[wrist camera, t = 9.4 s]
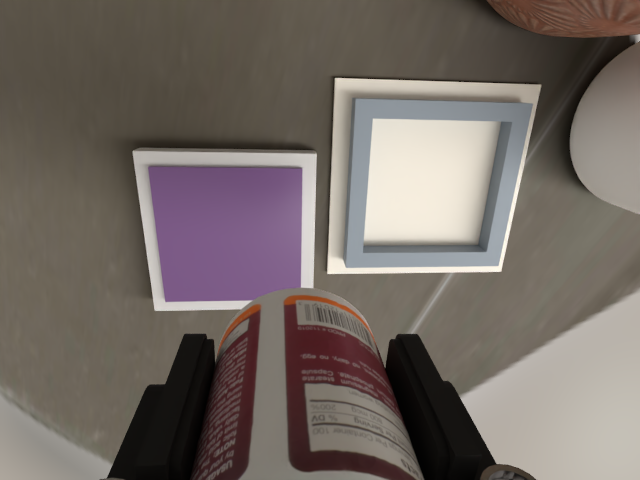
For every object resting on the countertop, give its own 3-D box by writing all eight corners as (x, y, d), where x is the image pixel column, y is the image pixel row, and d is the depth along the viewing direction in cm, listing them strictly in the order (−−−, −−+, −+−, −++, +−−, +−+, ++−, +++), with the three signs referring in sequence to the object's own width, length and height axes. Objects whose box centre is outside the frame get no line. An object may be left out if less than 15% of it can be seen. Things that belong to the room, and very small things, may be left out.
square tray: (334, 78, 22) (338, 77, 21) (538, 84, 23) (554, 84, 22) (327, 271, 27) (329, 282, 25) (498, 269, 28) (510, 279, 27)
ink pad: (139, 147, 23) (130, 152, 21) (315, 150, 24) (316, 154, 22) (160, 301, 27) (153, 313, 25) (311, 298, 27) (313, 310, 26)
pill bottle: (256, 426, 13) (220, 902, 6) (193, 313, 12) (15, 792, 4) (391, 382, 13) (543, 817, 6) (349, 260, 11) (489, 658, 4)
